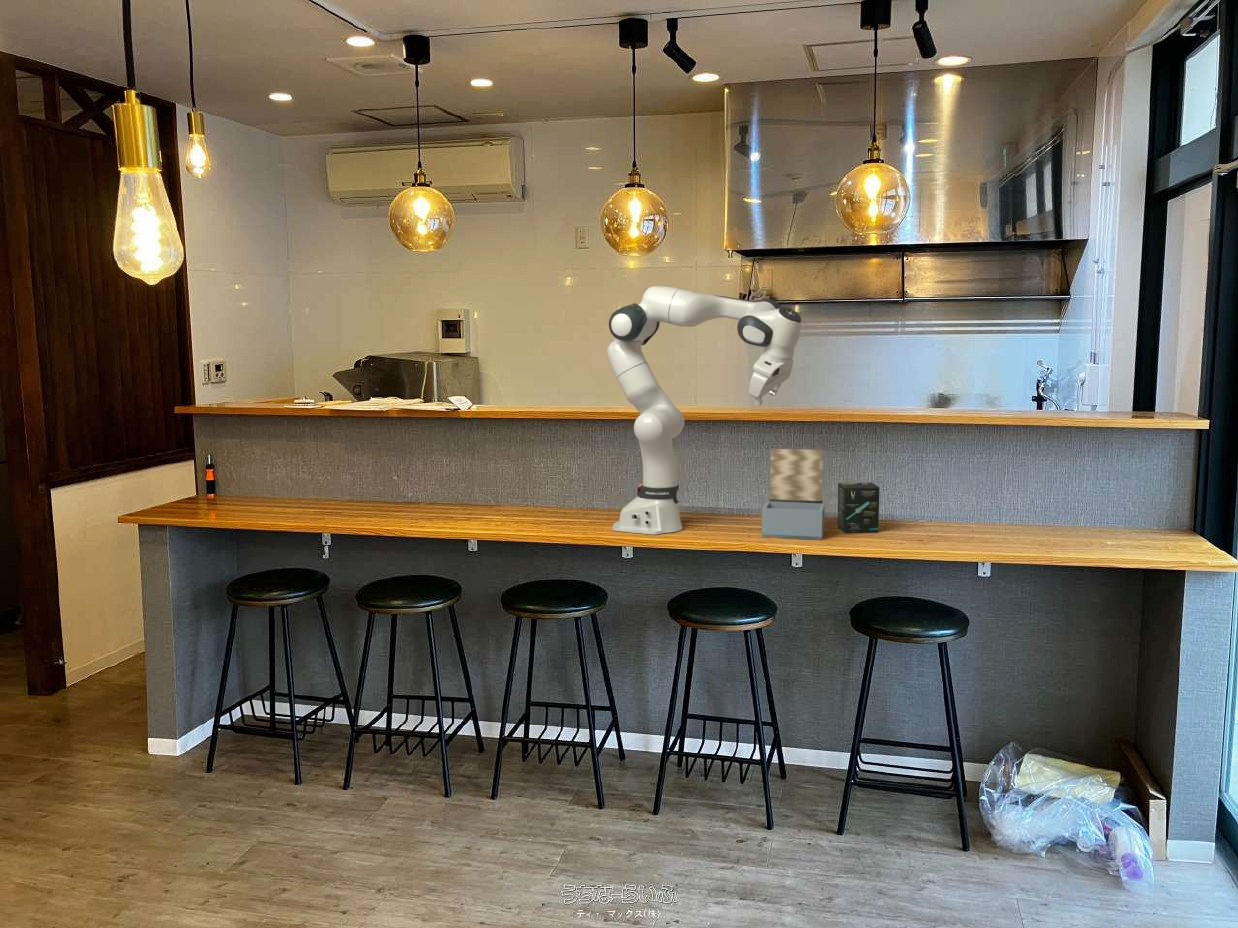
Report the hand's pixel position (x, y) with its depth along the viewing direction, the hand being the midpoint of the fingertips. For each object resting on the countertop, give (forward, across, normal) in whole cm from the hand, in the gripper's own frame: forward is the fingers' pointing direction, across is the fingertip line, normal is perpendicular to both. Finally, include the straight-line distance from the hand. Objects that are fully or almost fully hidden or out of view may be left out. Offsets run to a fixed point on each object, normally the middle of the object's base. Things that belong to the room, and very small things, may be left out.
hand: (765, 399), depth 292 cm
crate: (+34, +8, +25) cm, 43 cm away
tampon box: (+33, -8, +39) cm, 52 cm away
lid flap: (+28, 0, +19) cm, 34 cm away
